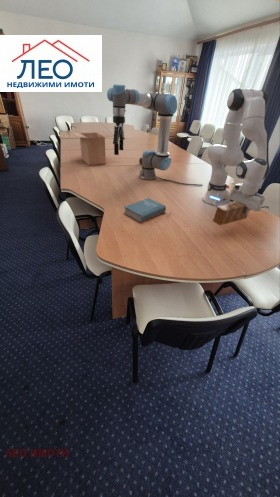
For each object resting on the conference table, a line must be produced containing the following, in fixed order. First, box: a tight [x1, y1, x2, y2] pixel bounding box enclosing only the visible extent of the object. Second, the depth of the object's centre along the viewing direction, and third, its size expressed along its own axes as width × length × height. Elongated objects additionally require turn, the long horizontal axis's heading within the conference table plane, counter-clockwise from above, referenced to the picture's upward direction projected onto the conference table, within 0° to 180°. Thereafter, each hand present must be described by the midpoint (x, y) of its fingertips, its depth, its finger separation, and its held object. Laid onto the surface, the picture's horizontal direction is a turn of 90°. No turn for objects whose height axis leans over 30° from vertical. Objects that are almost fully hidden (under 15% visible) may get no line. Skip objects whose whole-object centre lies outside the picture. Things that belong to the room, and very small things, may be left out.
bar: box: [212, 202, 249, 226], centre depth 128 cm, size 23×5×9 cm, turn 121°
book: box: [123, 197, 167, 223], centre depth 146 cm, size 23×16×5 cm
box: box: [70, 129, 114, 166], centre depth 229 cm, size 44×36×27 cm
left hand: (118, 152), depth 148 cm, fingers open, 13 cm apart
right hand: (240, 211), depth 133 cm, fingers closed on bar, 5 cm apart
